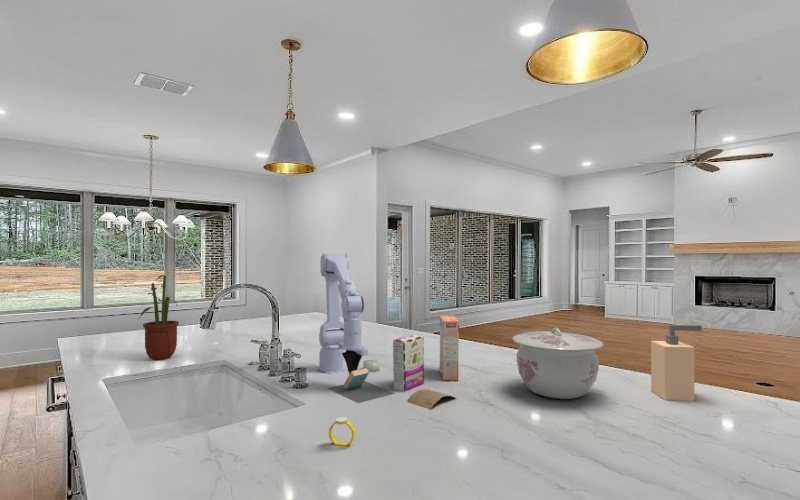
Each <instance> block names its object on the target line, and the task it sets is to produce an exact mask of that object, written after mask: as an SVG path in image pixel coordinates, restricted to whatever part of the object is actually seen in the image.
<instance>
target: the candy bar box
mask: <svg viewBox="0 0 800 500" xmlns="http://www.w3.org/2000/svg"><path fill="white" fill-rule="evenodd" d="M392 350H393V351H392V358H393V367H392V368H393V390H396V391H400V392H405V393H406V392H408V391H410V390H412V389H415V388H417V387H421V386H423V385H424V384H425V368H424V367H425V363H424V362H425V361H424V358H425V357H424V356H425V355H424V353H425V351H424V350H425V349H424V335H419V334H411V335H406V336H403V337H400V338H394V339H393V340H392Z"/></svg>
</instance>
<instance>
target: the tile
mask: <svg viewBox="0 0 800 500" xmlns="http://www.w3.org/2000/svg"><path fill="white" fill-rule="evenodd" d="M369 374H370V372H369V371H368V369H367V368H365V369H363V368H360V369H357V370H355V371H351V373H350V374H349V373H348V376H347V378H346V379H345V381H344V383H343V385H344V387H345V389H350V388H355V387H359V386H362V384H363V382H364V381H366V379H367V378H368V375H369Z"/></svg>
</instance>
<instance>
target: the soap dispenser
mask: <svg viewBox="0 0 800 500" xmlns="http://www.w3.org/2000/svg"><path fill="white" fill-rule="evenodd" d="M702 330H703V326H702V325H699V324H669V325H668V334H665V340H651V341H650V359H651V361H650V362H651V363H650V365H651V366H650V369H651V370H650V374H651V375H650V378H651V379H650V382H651V383H650V385H651V387H650V389H651V390H650V392H652V393H653V394H655V395H656V396H658V397H659V398H661V399H663V400H664V401H678V402H679V401H680V402H682V401H683V402H684V401H685V402H694V401H695V399H696V398H695V346H692V345H691V344H687V343H684V342H682V341H679V336H678V335H676V331H694V332H696V331H697V332H698V331H699V332H701V331H702Z"/></svg>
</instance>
